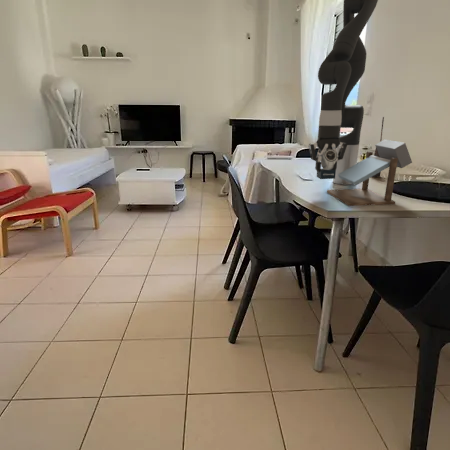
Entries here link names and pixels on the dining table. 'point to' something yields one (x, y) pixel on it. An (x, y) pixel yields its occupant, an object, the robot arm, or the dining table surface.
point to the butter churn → (377, 151)
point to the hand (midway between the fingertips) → (325, 171)
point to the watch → (328, 165)
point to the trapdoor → (377, 162)
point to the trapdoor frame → (368, 190)
